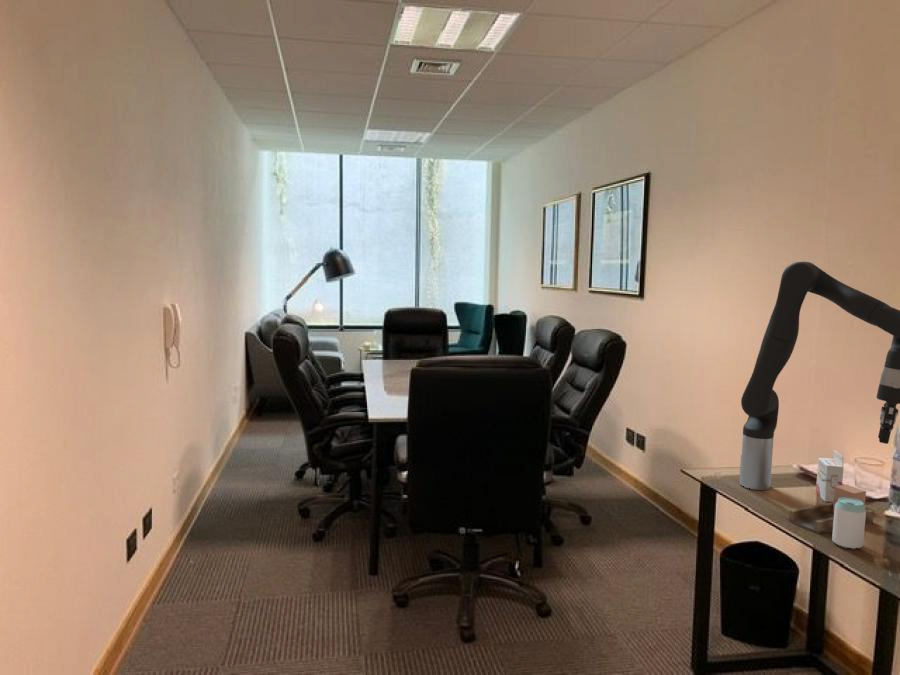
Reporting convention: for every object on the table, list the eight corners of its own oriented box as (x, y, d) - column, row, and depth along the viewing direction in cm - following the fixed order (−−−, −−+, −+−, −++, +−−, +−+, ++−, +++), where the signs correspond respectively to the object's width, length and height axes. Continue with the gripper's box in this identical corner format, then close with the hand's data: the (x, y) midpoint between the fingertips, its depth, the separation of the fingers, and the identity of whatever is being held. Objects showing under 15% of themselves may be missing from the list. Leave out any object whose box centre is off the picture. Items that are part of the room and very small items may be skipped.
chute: (842, 510, 197) (843, 500, 197) (872, 522, 189) (873, 511, 188) (788, 521, 189) (789, 510, 189) (818, 533, 180) (819, 522, 180)
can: (869, 549, 171) (873, 505, 169) (845, 551, 170) (848, 506, 168) (849, 538, 178) (852, 495, 176) (825, 539, 177) (829, 496, 175)
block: (844, 510, 195) (846, 484, 194) (863, 517, 189) (866, 491, 189) (832, 512, 193) (834, 486, 192) (851, 520, 188) (854, 493, 187)
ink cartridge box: (814, 492, 213) (818, 448, 211) (831, 493, 212) (835, 449, 210) (824, 501, 204) (827, 455, 203) (841, 503, 203) (845, 457, 202)
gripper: (878, 381, 194) (867, 434, 195) (880, 383, 182) (867, 440, 183) (909, 387, 190) (897, 441, 191) (913, 389, 178) (900, 447, 179)
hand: (882, 441), depth 187 cm, fingers open, 8 cm apart
